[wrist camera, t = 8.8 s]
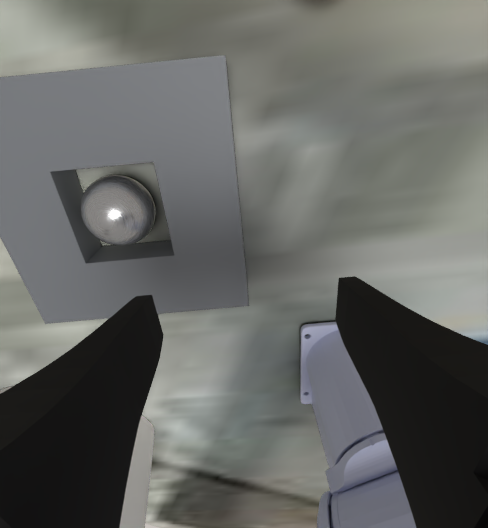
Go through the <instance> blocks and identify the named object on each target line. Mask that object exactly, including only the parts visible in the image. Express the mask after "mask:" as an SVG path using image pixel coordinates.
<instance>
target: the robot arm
mask: <svg viewBox="0 0 488 528" xmlns="http://www.w3.org/2000/svg"><path fill="white" fill-rule="evenodd" d="M306 334H309V335H307V336H305V335H306ZM162 341H163V332H162V329H161V325H160V322H159V318H158V314H157V311H156V307H155V304H154V300H153V297H152V295H142V296H136V297H134V298H133V299H132V300H130V301H129V302H128V303H127V304H126V305H124V306H123V307H122V308H121V309H120V310H119V311H117V312H116V313H115V314H114V315H113V316H112V317H110V318H109V319H108V320H107V321H106V322H105V323H103V324H102V325H101V326H100V327H99V328H98V329H96V330H95V331H94V332H93V333H91V334H90V335H89V336H87V337H86V338H85V339H84V340H82V341H81V342H80V343H79V344H77V345H76V346H75V347H73V348H72V349H71V350H69V351H68V352H67V353H65V354H64V355H62V356H61V357H59V358H58V359H56V360H55V361H53V362H52V363H51V364H49V365H48V366H46V367H45V368H43V369H41V370H40V371H38V372H37V373H35V374H33V375H32V376H30V377H28V378H26V379H25V380H23V381H21V382H20V383H18V384H16V385H15V386H13V387H11V388H10V389H8V390H6V391H4V392H3V393H1V394H0V528H119V527H120V521H121V515H122V509H123V503H124V497H125V491H126V485H127V480H128V475H129V469H130V464H131V459H132V454H133V449H134V444H135V440H136V435H137V430H138V426H139V422H140V419H141V415H142V412H143V409H144V406H145V403H146V399H147V396H148V393H149V390H150V387H151V384H152V381H153V378H154V375H155V371H156V368H157V365H158V362H159V358H160V353H161V347H162ZM300 400H301V403H303V404H312V405H313V409H314V413H315V417H316V420H317V424H318V428H319V432H320V436H321V439H322V443H323V447H324V451H325V454H326V458H327V462H328V465H329V467H330V469H328V470H326V476H327V480H328V484H329V488H330V491H327V492H325V493H324V494H323V495H322V496H321V499H320V503H319V511H318V517H317V528H488V345H486V344H484V343H481V342H478V341H476V340H473V339H471V338H468V337H466V336H463V335H461V334H459V333H457V332H454V331H452V330H450V329H448V328H445V327H443V326H441V325H439V324H437V323H435V322H433V321H431V320H429V319H427V318H425V317H423V316H421V315H419V314H417V313H416V312H414V311H412V310H410V309H408V308H406V307H405V306H403V305H401V304H399V303H398V302H396V301H394V300H393V299H391V298H389V297H388V296H386V295H385V294H383V293H381V292H380V291H378V290H377V289H375V288H373V287H372V286H370V285H369V284H367V283H365V282H364V281H362V280H360V279H358V278H357V277H345V278H339V283H338V295H337V308H336V322H327V323H315V324H306V325H303V326H302V327H301V354H300Z"/></svg>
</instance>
